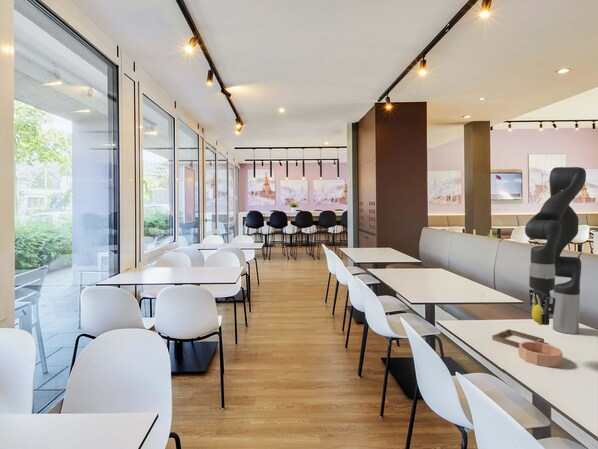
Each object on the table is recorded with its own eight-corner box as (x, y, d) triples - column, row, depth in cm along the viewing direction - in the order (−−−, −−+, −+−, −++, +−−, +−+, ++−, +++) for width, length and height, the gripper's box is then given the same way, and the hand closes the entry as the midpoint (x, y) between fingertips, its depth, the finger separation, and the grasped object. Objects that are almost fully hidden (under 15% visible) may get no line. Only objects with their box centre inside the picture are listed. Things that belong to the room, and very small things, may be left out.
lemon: (553, 328, 120) (553, 305, 120) (535, 327, 121) (536, 305, 121) (545, 323, 126) (545, 301, 125) (528, 322, 127) (529, 301, 126)
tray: (508, 333, 150) (508, 329, 150) (543, 343, 139) (543, 338, 139) (492, 339, 143) (492, 335, 143) (528, 350, 131) (528, 346, 131)
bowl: (528, 349, 133) (528, 339, 133) (567, 361, 122) (567, 350, 122) (512, 357, 126) (512, 346, 126) (552, 370, 115) (552, 358, 115)
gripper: (521, 271, 131) (520, 315, 131) (540, 279, 116) (539, 327, 117) (543, 272, 129) (542, 316, 130) (565, 279, 115) (563, 329, 116)
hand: (540, 321), depth 123 cm, fingers closed on lemon, 5 cm apart
